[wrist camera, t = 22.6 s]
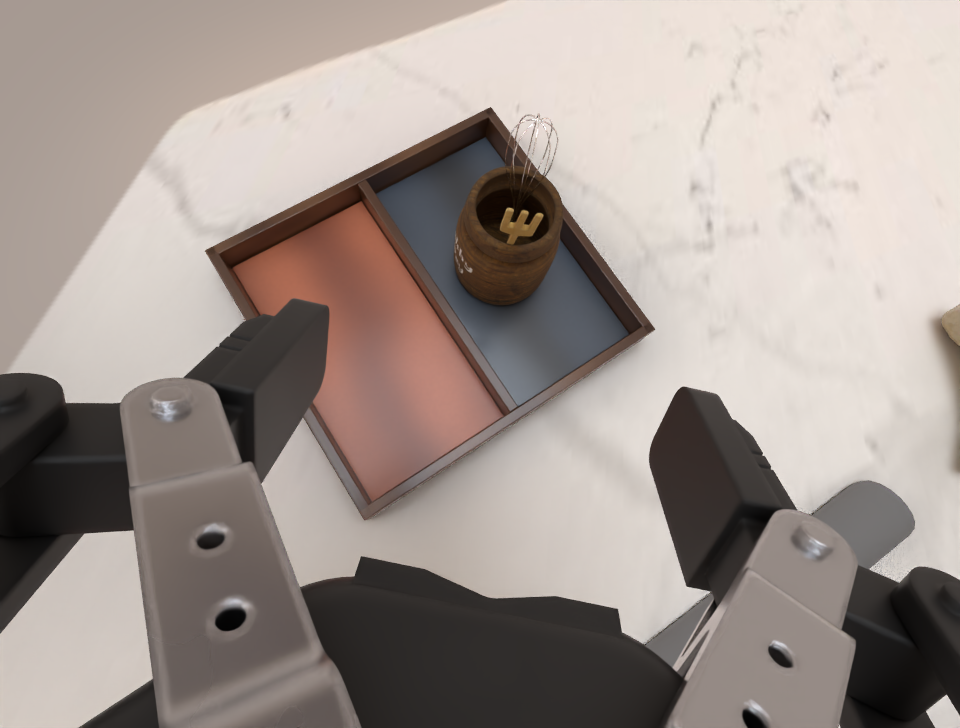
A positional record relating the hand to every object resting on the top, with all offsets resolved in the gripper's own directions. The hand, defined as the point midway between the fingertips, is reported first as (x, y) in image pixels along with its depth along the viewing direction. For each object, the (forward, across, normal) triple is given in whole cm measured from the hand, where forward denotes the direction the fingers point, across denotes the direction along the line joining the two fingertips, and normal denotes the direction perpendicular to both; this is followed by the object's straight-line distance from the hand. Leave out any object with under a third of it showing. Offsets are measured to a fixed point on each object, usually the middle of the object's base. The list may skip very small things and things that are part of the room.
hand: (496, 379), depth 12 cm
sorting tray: (+20, +3, +8) cm, 22 cm away
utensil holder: (+22, 0, +5) cm, 23 cm away
